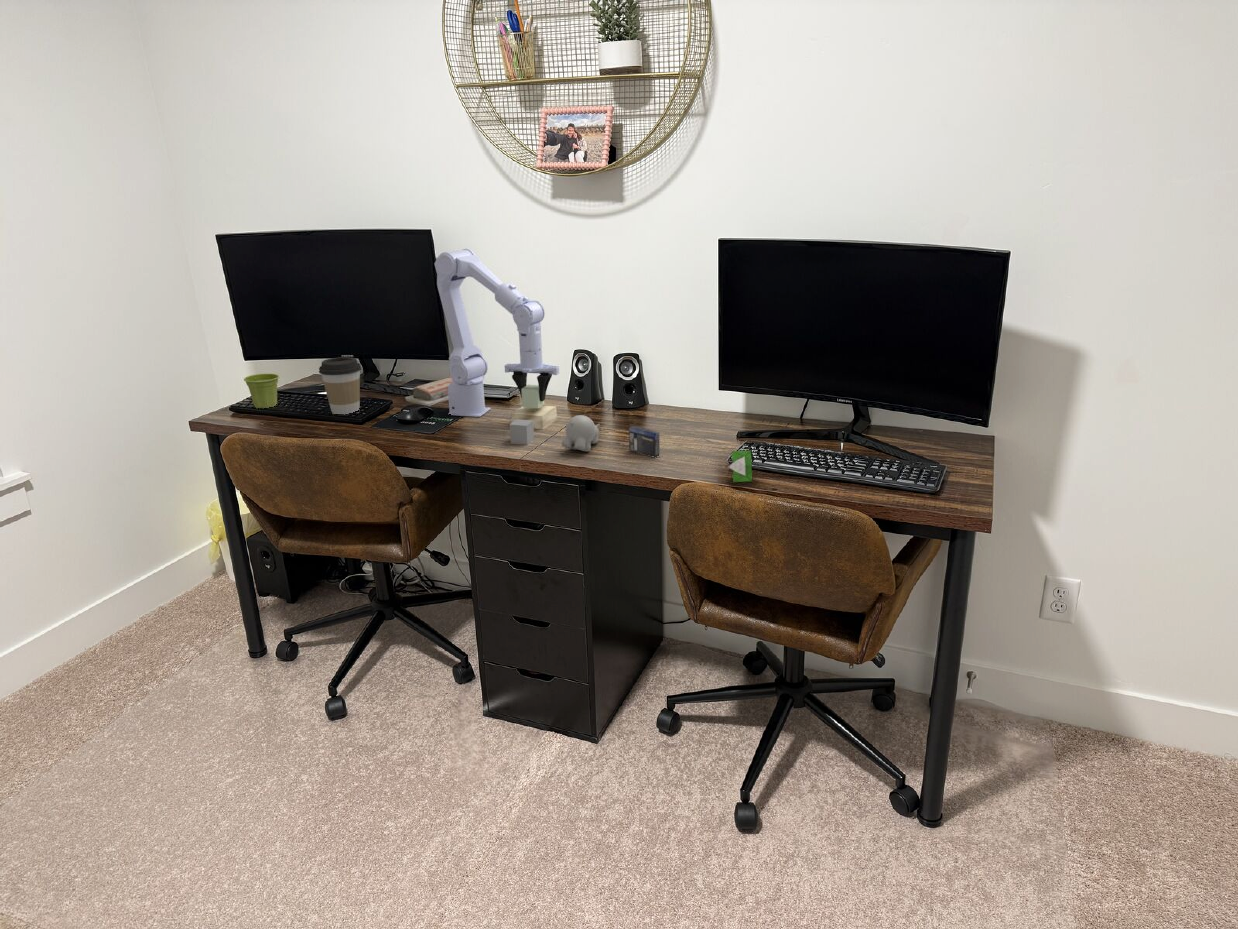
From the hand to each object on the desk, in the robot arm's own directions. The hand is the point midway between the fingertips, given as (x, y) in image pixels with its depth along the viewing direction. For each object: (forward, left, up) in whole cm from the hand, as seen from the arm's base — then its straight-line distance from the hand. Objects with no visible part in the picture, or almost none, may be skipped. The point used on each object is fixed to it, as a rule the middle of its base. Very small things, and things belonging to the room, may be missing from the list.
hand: (533, 399), depth 227 cm
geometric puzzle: (+60, -29, -7) cm, 67 cm away
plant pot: (-82, -2, -7) cm, 83 cm away
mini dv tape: (+35, -17, -7) cm, 39 cm away
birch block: (0, 0, -7) cm, 7 cm away
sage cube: (0, 0, -2) cm, 2 cm away
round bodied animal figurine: (+20, -17, -7) cm, 27 cm away
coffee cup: (-55, -3, -7) cm, 56 cm away
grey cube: (+3, -15, -6) cm, 17 cm away
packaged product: (-37, +18, -7) cm, 42 cm away
